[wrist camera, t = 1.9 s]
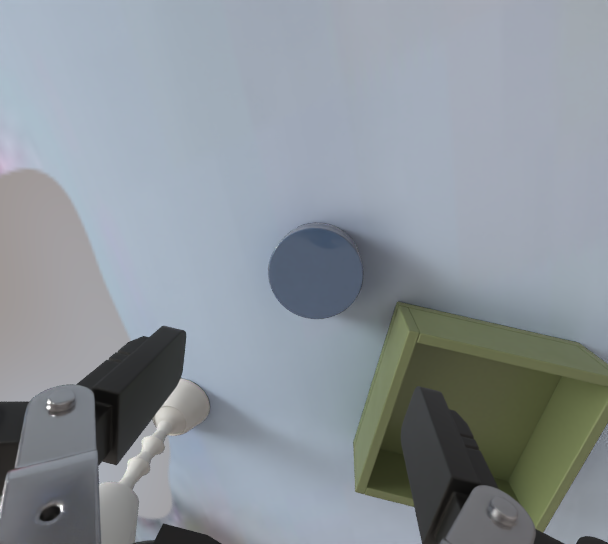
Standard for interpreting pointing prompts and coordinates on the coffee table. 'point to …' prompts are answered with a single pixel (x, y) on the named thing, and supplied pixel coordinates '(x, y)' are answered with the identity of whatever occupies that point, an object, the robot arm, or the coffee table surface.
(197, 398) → the chalice
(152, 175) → the coffee table surface
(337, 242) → the blue round puck
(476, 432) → the tub
